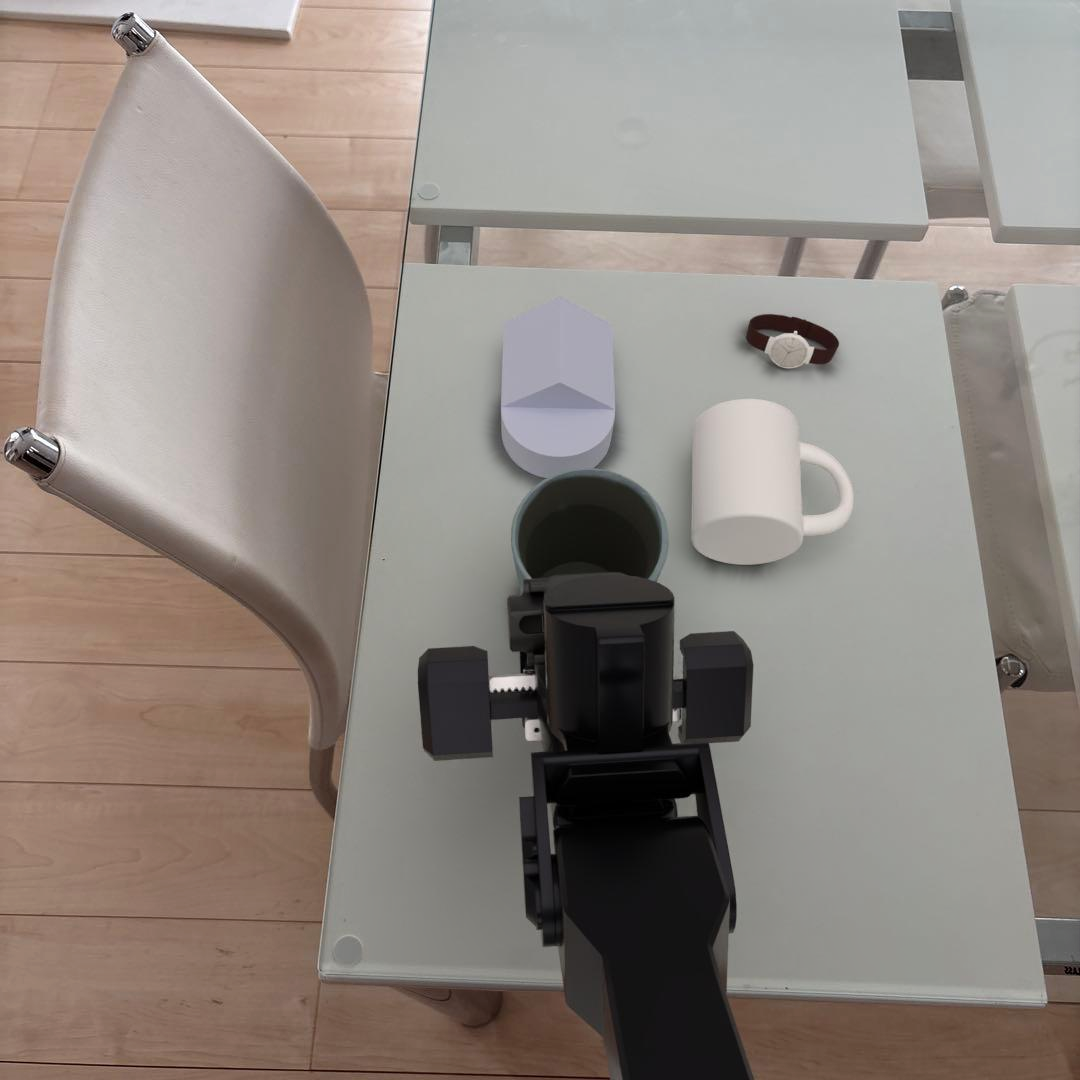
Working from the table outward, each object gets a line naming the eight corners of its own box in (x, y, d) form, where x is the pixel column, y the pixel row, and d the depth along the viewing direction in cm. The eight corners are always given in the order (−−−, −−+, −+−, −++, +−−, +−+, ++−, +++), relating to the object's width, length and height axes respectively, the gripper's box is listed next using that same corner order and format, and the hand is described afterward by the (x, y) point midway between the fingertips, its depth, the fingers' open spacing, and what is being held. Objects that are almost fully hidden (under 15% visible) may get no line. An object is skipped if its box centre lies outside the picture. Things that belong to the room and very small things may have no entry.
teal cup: (578, 702, 68) (590, 640, 57) (482, 606, 71) (476, 531, 60) (674, 611, 71) (702, 537, 60) (578, 524, 74) (589, 439, 64)
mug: (683, 560, 73) (701, 510, 66) (685, 451, 78) (702, 392, 70) (840, 574, 73) (875, 525, 66) (833, 464, 77) (865, 406, 70)
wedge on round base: (504, 348, 82) (499, 478, 76) (503, 294, 76) (498, 430, 70) (608, 350, 82) (612, 480, 76) (616, 296, 76) (621, 433, 70)
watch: (738, 358, 82) (747, 331, 79) (749, 318, 84) (758, 289, 81) (827, 381, 81) (840, 354, 78) (836, 340, 83) (849, 312, 80)
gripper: (794, 604, 46) (714, 511, 60) (401, 626, 45) (418, 525, 59) (782, 805, 49) (710, 670, 64) (418, 829, 48) (430, 686, 63)
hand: (570, 636), depth 62 cm, fingers closed
